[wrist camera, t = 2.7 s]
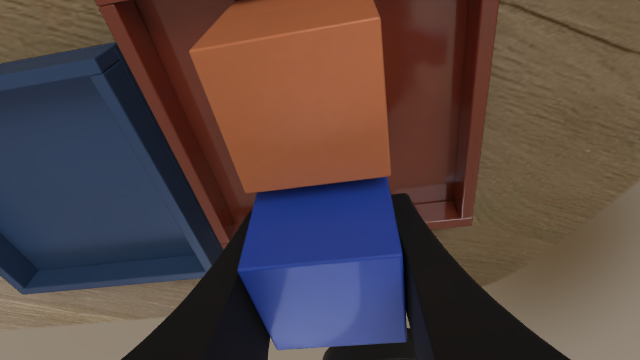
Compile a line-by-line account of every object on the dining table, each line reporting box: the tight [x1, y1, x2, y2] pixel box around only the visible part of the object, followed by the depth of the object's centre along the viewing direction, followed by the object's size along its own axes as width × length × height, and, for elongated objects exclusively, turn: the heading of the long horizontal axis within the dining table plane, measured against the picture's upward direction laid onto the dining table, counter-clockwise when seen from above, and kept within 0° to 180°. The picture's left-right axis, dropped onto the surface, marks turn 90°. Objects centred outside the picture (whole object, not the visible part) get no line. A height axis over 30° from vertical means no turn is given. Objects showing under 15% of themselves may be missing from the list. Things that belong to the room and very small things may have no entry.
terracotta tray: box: [94, 0, 499, 250], centre depth 13 cm, size 11×11×2 cm
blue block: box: [237, 177, 407, 350], centre depth 11 cm, size 4×4×4 cm
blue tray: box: [0, 42, 223, 295], centre depth 16 cm, size 11×11×2 cm
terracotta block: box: [189, 0, 391, 194], centre depth 10 cm, size 4×4×4 cm
